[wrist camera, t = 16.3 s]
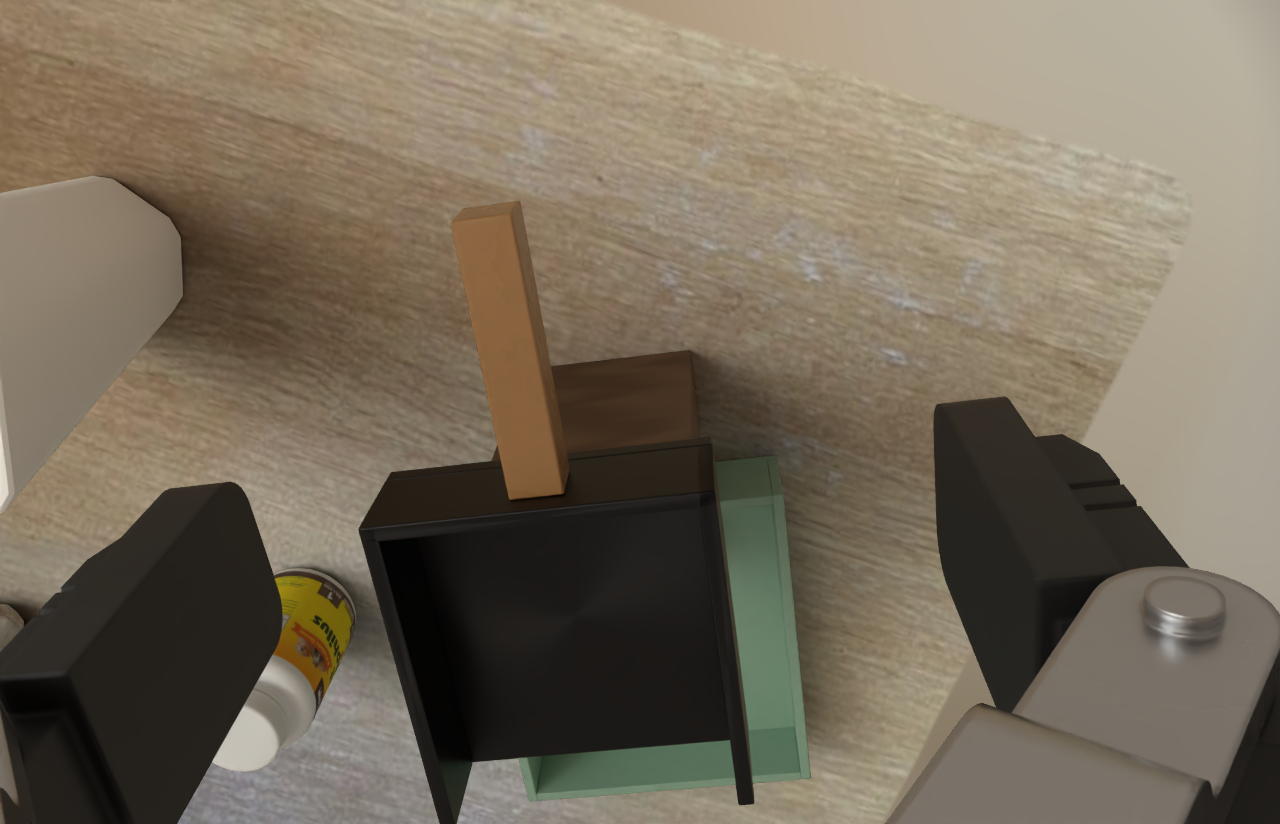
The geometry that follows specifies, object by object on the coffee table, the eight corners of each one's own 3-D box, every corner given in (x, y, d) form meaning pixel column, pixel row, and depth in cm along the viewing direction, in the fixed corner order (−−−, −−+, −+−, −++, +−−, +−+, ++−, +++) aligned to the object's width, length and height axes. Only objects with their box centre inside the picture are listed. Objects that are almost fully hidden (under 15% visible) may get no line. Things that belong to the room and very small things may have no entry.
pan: (678, 169, 29) (677, 197, 26) (748, 727, 36) (754, 804, 33) (325, 217, 30) (279, 249, 26) (462, 752, 37) (440, 830, 34)
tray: (776, 454, 52) (783, 494, 48) (803, 726, 59) (811, 779, 55) (477, 487, 53) (462, 528, 50) (537, 749, 60) (528, 802, 57)
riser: (690, 349, 50) (694, 553, 34) (700, 426, 52) (709, 655, 35) (523, 369, 51) (448, 578, 34) (538, 444, 52) (473, 677, 36)
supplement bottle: (367, 648, 58) (306, 786, 48) (267, 649, 58) (187, 787, 49) (351, 561, 55) (284, 688, 46) (247, 562, 56) (159, 690, 46)
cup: (-48, 265, 49) (-382, 418, 34) (44, 87, 46) (-282, 168, 30) (166, 403, 52) (-54, 605, 36) (268, 245, 48) (73, 393, 33)
